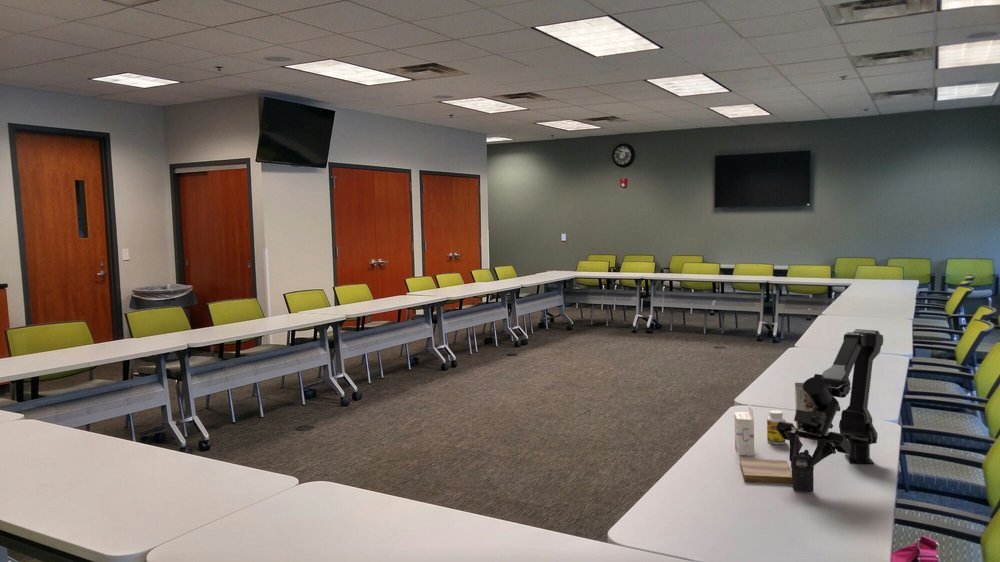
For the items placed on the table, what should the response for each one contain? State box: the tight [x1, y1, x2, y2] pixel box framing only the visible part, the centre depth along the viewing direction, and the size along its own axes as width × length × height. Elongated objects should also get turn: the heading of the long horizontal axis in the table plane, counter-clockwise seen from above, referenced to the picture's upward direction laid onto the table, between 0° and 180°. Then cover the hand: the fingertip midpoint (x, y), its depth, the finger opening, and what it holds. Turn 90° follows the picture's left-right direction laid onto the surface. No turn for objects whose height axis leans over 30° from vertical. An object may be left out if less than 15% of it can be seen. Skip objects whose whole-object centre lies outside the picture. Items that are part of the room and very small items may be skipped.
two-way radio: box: [790, 435, 815, 494], centre depth 179 cm, size 6×4×15 cm
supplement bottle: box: [766, 410, 786, 445], centre depth 220 cm, size 6×6×10 cm
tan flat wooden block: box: [739, 458, 793, 485], centre depth 192 cm, size 14×13×2 cm
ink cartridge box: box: [733, 403, 755, 457], centre depth 212 cm, size 9×5×15 cm, turn 168°
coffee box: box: [794, 382, 814, 430], centre depth 231 cm, size 9×6×16 cm
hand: (800, 463), depth 178 cm, fingers closed on two-way radio, 5 cm apart
